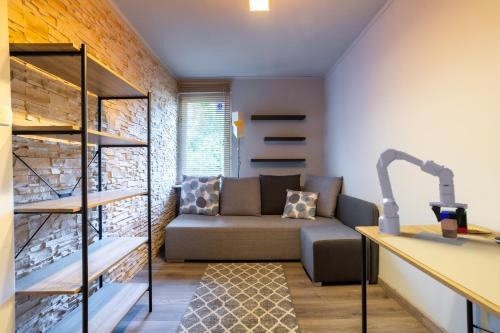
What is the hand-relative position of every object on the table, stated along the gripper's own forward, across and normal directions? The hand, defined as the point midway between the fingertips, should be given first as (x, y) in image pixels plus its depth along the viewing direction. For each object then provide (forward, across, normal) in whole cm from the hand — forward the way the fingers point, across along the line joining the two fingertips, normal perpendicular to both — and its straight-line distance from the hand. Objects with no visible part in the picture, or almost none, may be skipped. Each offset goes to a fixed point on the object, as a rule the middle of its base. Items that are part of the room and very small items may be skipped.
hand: (448, 222), depth 125 cm
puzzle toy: (+8, -2, +14) cm, 16 cm away
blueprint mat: (+7, -3, -4) cm, 9 cm away
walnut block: (+7, 0, 0) cm, 7 cm away
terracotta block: (+3, 0, 0) cm, 3 cm away
